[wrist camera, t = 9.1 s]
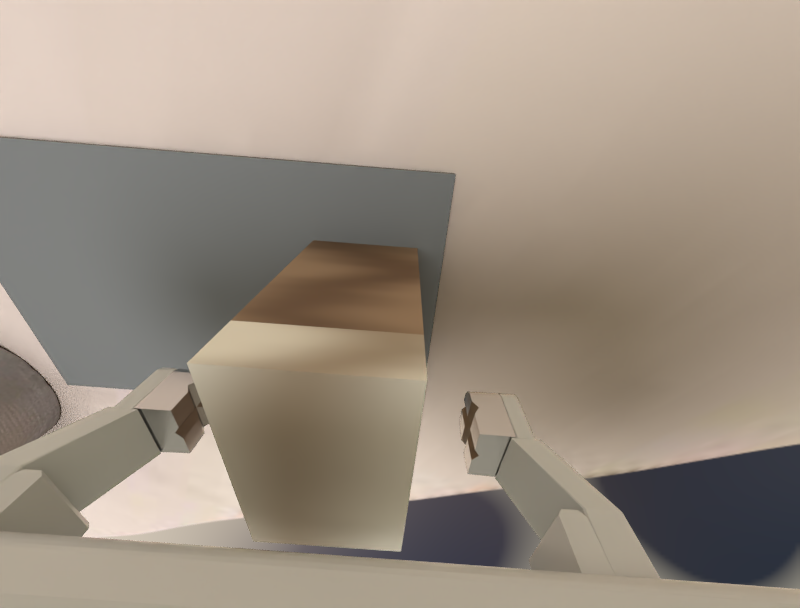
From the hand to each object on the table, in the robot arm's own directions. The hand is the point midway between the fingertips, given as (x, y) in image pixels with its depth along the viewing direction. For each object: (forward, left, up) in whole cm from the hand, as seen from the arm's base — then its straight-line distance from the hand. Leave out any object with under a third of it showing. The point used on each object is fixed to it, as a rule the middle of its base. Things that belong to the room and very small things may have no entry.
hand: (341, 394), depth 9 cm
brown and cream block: (0, 0, -5) cm, 5 cm away
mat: (+7, 0, -6) cm, 9 cm away
